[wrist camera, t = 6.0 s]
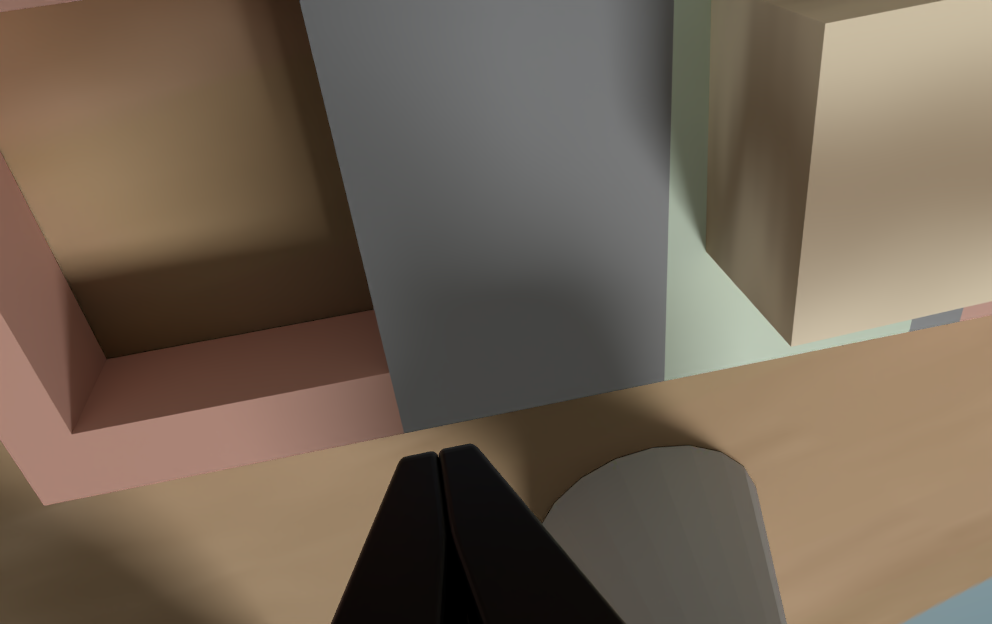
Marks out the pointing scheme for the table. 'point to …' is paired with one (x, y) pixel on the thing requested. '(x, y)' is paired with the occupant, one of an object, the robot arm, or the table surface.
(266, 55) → the table surface
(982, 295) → the block
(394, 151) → the pink rimmed tray
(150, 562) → the table surface
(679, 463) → the lava lamp
